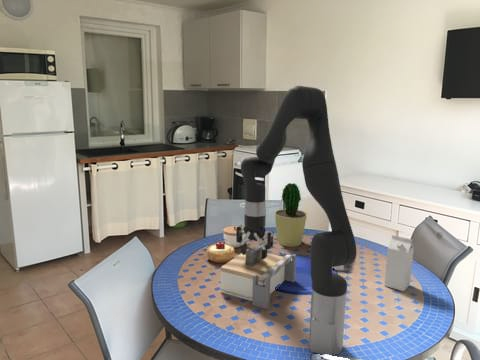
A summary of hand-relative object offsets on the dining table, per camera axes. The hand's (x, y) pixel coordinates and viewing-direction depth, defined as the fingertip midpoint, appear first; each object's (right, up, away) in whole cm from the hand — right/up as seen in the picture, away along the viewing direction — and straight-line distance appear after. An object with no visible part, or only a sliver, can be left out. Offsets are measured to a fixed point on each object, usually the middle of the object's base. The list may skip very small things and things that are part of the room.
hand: (254, 256), depth 143 cm
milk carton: (+54, -12, +4) cm, 55 cm away
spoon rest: (+37, -7, +28) cm, 47 cm away
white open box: (+1, -12, +1) cm, 12 cm away
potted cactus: (+19, -3, +48) cm, 52 cm away
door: (0, -4, +1) cm, 4 cm away
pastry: (-13, -7, +27) cm, 31 cm away
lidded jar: (-8, -3, +43) cm, 44 cm away
